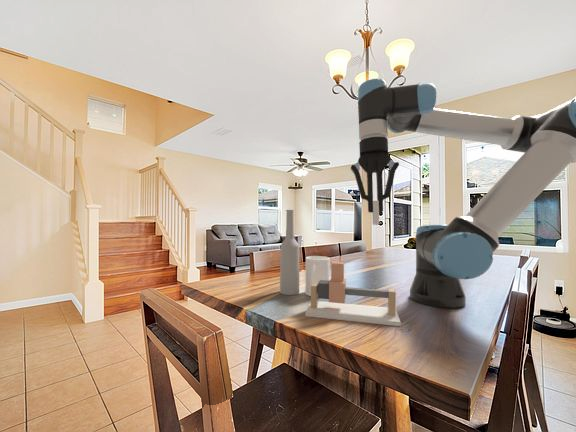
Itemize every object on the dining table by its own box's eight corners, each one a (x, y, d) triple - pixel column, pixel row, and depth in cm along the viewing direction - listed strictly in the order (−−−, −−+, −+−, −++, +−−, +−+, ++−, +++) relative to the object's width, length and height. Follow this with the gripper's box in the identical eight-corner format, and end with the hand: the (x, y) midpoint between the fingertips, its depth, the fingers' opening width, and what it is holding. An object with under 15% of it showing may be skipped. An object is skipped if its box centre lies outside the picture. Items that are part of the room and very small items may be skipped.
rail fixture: (395, 311, 74) (395, 282, 74) (400, 326, 64) (400, 292, 64) (312, 303, 80) (312, 276, 80) (305, 316, 70) (305, 285, 70)
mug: (323, 301, 82) (323, 262, 82) (297, 298, 85) (297, 260, 85) (333, 291, 93) (333, 256, 93) (309, 288, 96) (310, 255, 96)
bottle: (275, 292, 92) (276, 209, 92) (290, 288, 96) (290, 210, 96) (289, 296, 87) (289, 209, 87) (303, 292, 91) (303, 209, 91)
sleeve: (345, 297, 75) (345, 261, 75) (344, 303, 70) (344, 265, 70) (331, 296, 76) (331, 260, 76) (328, 302, 71) (329, 264, 71)
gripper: (395, 140, 77) (398, 223, 77) (348, 144, 80) (351, 224, 80) (401, 133, 70) (404, 224, 70) (349, 137, 72) (352, 225, 72)
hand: (375, 224), depth 75 cm, fingers closed
